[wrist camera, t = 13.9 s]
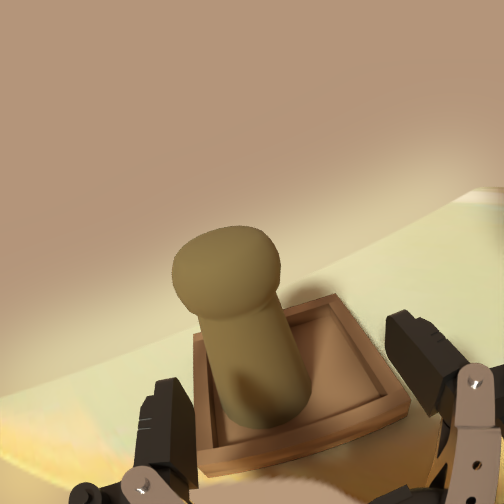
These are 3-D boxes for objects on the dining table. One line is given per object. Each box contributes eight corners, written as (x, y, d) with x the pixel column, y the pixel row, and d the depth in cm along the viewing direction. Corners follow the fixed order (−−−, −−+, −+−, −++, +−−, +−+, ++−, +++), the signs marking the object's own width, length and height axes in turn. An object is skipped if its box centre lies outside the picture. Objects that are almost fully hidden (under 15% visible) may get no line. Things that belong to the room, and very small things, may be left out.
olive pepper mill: (211, 379, 20) (151, 240, 16) (287, 347, 22) (254, 204, 17) (236, 443, 15) (157, 289, 11) (329, 401, 16) (306, 234, 12)
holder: (337, 310, 25) (335, 293, 24) (406, 416, 14) (411, 399, 13) (200, 349, 25) (193, 334, 24) (208, 477, 14) (196, 465, 13)
